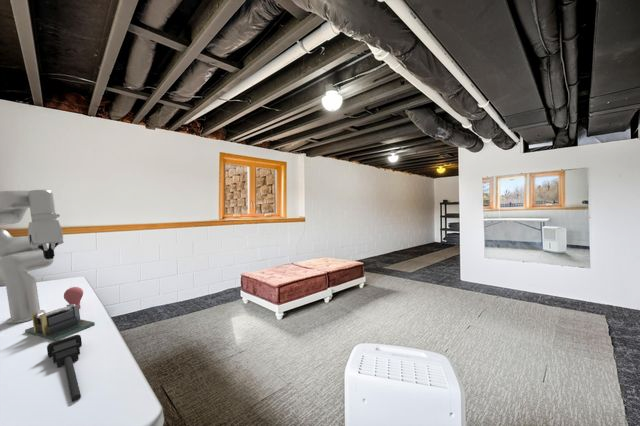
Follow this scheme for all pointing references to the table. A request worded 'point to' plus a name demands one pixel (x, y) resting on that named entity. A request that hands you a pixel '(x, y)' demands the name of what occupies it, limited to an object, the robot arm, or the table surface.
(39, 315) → the retention strap
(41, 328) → the circuit board
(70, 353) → the electrical plug
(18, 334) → the table surface
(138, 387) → the table surface
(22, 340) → the table surface
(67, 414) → the table surface
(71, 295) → the light bulb
